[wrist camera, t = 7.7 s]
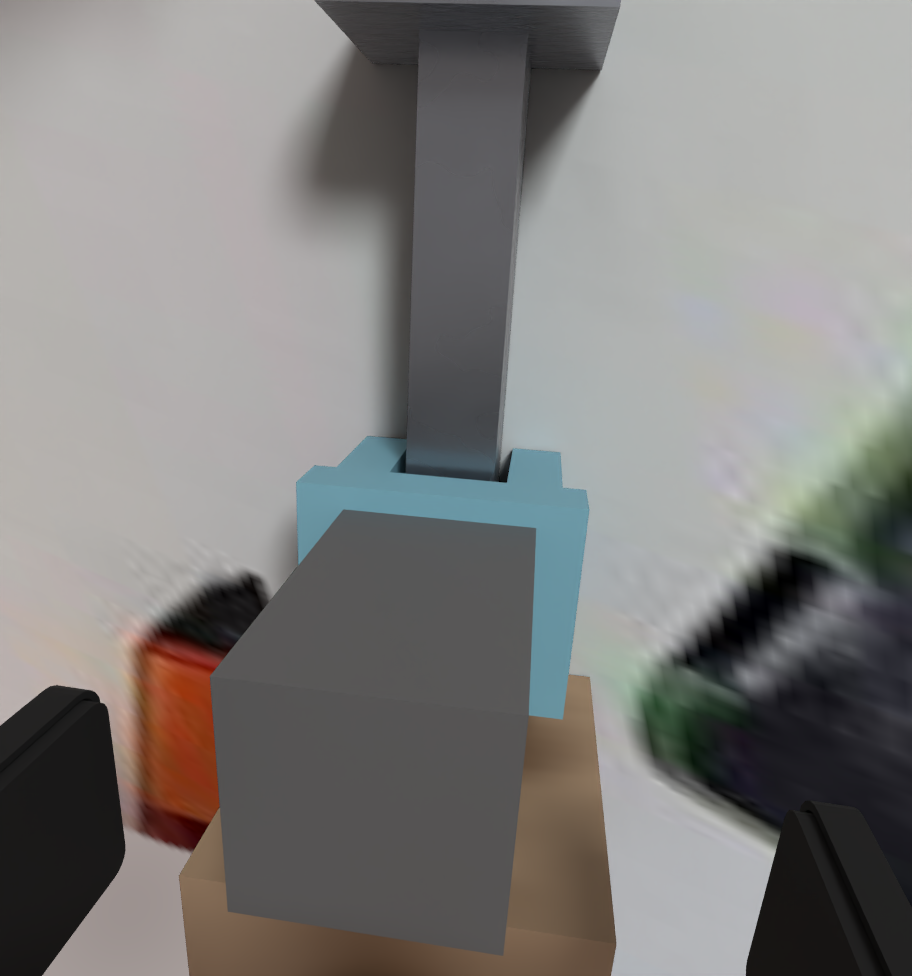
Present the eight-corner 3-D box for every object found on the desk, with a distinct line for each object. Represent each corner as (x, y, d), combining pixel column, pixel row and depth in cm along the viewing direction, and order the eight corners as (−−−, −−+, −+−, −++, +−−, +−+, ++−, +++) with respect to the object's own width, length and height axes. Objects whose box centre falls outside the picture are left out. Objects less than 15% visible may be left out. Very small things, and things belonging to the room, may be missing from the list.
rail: (608, 4, 14) (630, -86, 10) (536, 671, 20) (534, 769, 16) (372, -1, 15) (313, -88, 11) (365, 650, 20) (323, 741, 16)
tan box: (589, 677, 19) (618, 960, 12) (566, 846, 21) (577, 1183, 14) (302, 643, 20) (149, 886, 12) (306, 808, 22) (176, 1106, 15)
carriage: (580, 454, 17) (619, 690, 8) (560, 627, 19) (571, 993, 10) (348, 434, 18) (130, 632, 9) (348, 603, 20) (165, 926, 10)
